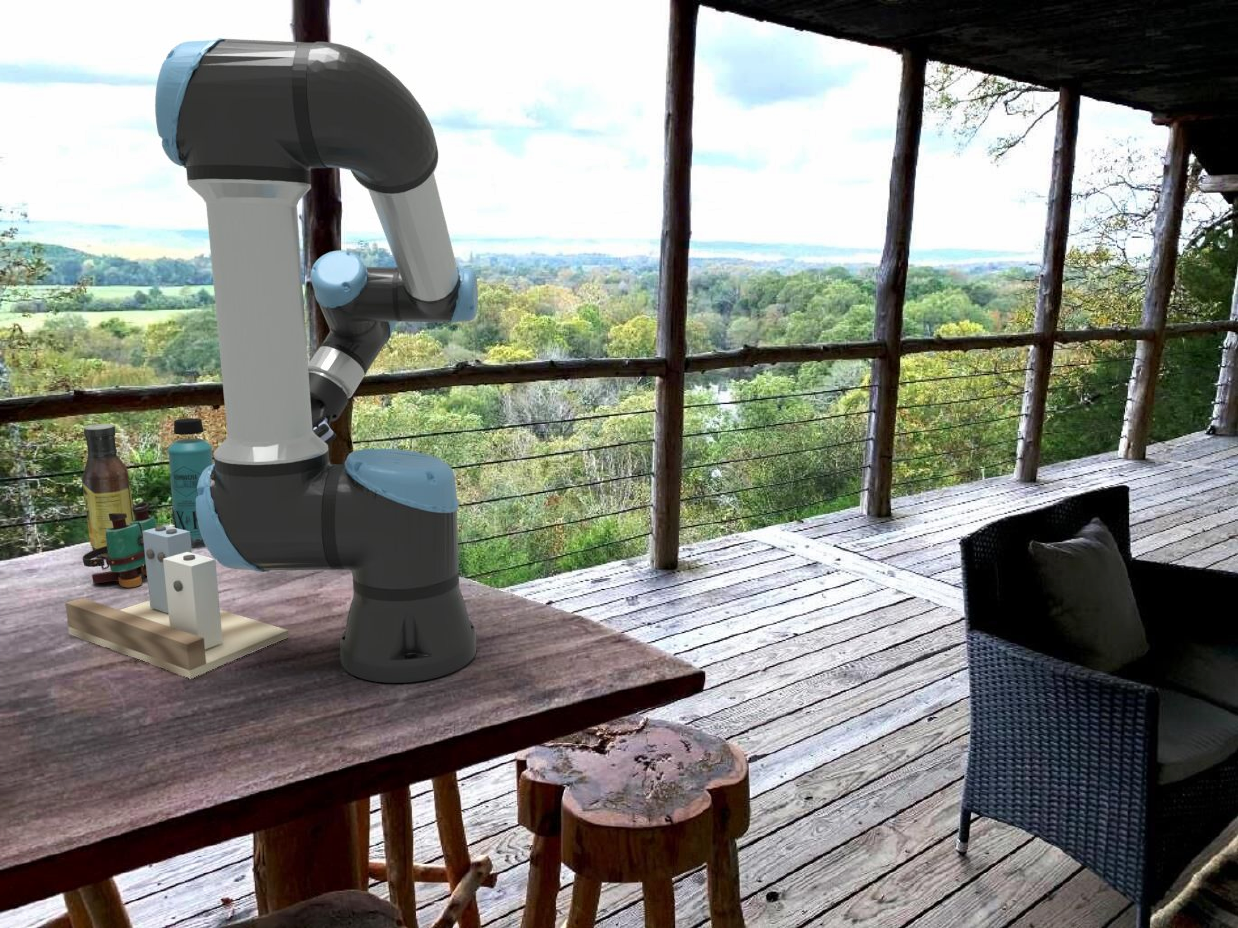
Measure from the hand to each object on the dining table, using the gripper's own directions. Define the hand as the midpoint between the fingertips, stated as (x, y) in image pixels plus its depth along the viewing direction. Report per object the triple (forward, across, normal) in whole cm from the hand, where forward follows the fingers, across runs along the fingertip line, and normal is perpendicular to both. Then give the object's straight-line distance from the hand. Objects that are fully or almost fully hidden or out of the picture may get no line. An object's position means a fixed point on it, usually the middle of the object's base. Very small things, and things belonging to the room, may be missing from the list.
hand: (236, 524), depth 122 cm
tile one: (+17, -13, +6) cm, 22 cm away
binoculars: (+11, +18, -3) cm, 21 cm away
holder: (+17, -7, +3) cm, 18 cm away
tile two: (+13, -1, +2) cm, 14 cm away
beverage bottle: (0, +24, -14) cm, 28 cm away
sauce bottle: (+7, +30, -7) cm, 32 cm away
